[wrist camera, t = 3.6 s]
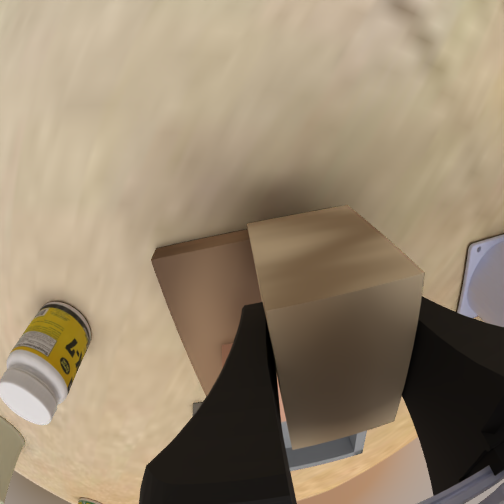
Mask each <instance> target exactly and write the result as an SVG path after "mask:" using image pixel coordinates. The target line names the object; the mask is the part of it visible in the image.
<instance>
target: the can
mask: <svg viewBox="0 0 504 504" xmlns="http://www.w3.org/2000/svg"><path fill="white" fill-rule="evenodd" d="M24 444H25V441H24V438H23V437H22V435H21V434H20V433H19V432H18V431H17V430H16V429H15V428H14V427H13V426H12V425H11V424H10V423H9V422H8V421H6V420H5V419H4V418H2V417H1V416H0V504H4V501H5V497H6V494H7V490H8V487H9V483H10V480H11V477H12V474H13V471H14V468H15V465H16V462H17V460H18V457H19V454H20V452H21V449H22V447H23V446H24Z"/></svg>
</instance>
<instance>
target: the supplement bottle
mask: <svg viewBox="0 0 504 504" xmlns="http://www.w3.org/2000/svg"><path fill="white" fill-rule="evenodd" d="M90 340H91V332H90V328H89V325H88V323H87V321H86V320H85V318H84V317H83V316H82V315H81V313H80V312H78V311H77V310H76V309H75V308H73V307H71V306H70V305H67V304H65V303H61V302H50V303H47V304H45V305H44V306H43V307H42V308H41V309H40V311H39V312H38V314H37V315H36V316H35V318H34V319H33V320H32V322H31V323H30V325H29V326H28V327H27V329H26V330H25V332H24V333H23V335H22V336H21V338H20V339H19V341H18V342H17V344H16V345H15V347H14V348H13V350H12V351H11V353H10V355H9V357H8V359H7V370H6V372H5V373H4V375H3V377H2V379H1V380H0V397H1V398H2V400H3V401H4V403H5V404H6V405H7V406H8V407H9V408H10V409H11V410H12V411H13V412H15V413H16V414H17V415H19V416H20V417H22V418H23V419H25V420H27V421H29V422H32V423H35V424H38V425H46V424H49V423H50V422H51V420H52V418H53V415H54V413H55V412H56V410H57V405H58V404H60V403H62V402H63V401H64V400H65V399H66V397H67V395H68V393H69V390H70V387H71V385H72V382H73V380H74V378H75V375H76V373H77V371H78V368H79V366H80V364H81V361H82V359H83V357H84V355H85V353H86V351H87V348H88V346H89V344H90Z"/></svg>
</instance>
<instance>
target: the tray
mask: <svg viewBox="0 0 504 504" xmlns="http://www.w3.org/2000/svg"><path fill="white" fill-rule="evenodd" d="M202 403H203V402H202ZM202 403H194V404H193V416H194V414H195V413H196V412H197V410H198V409H199V407H200V406H201V404H202ZM281 425H282V432H283V438H284V443H285V448H286V453H287V458H288V463H289V468H290V471H293V470H298V469H303V468H308V467H312V466H317V465H321V464H325V463H329V462H333V461H337V460H340V459H344V458H347V457H351V456H354V455H358V454H361V453H362V452H363V447H364V442H365V437H366V432H367V431H364V432H361V433H357V434H354V435H351V436H347V437H344V438H340V439H336V440H333V441H329V442H325V443H321V444H317V445H313V446H308V447H304V448H299V449H295V450H292V446H291V441H290V436H289V431H288V427H287V422H286V421H285V422H281Z"/></svg>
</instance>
